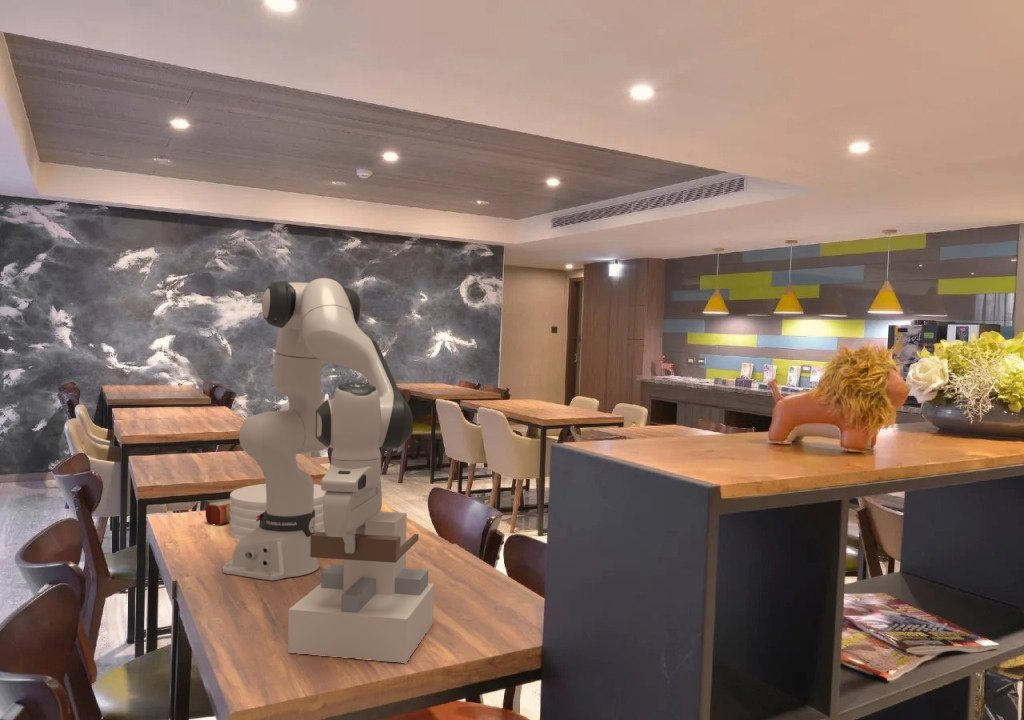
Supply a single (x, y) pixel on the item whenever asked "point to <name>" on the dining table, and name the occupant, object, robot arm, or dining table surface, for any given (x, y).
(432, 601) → the pillar on square base
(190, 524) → the dining table surface
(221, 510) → the snack package
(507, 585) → the dining table surface
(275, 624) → the dining table surface
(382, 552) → the glasses frame
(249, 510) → the plate stack
